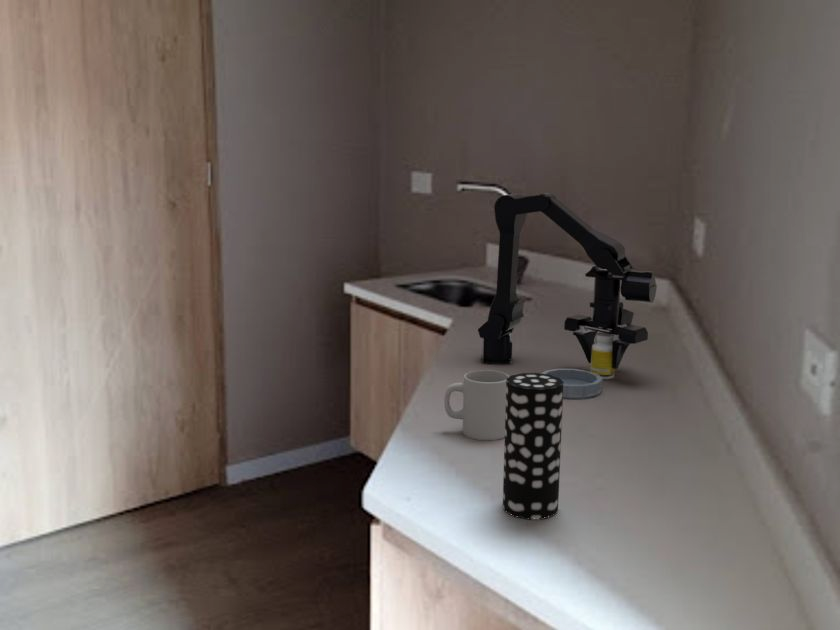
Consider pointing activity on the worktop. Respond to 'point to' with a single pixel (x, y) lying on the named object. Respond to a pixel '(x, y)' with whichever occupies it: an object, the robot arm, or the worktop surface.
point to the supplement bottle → (603, 356)
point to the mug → (481, 404)
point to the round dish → (578, 383)
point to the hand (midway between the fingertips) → (603, 365)
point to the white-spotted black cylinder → (532, 444)
